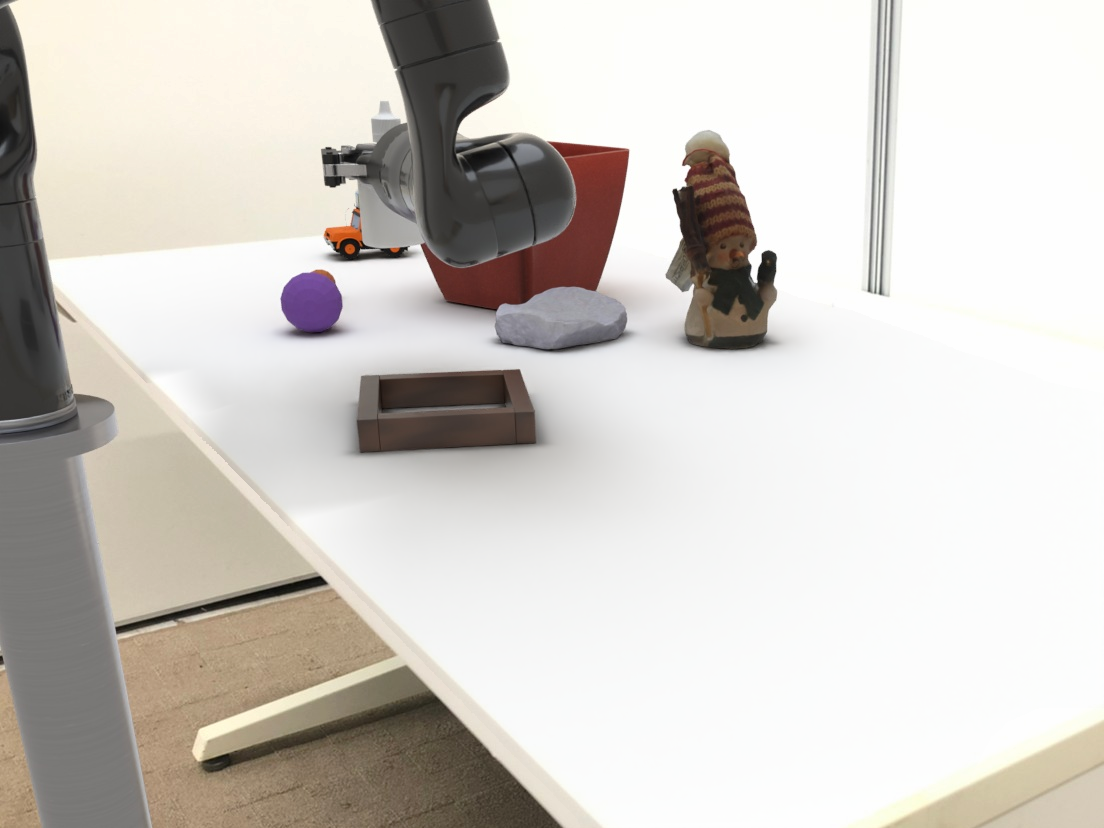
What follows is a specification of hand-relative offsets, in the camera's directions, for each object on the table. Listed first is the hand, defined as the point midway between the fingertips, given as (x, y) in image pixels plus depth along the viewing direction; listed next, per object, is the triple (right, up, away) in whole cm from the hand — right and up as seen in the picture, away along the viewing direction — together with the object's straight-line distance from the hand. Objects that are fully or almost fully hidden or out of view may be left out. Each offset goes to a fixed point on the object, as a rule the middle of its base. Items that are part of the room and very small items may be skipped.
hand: (382, 157), depth 111 cm
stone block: (+14, -13, +18) cm, 26 cm away
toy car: (-18, +6, +61) cm, 64 cm away
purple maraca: (-14, -10, +25) cm, 30 cm away
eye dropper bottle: (+1, -8, +1) cm, 8 cm away
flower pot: (+6, -6, +35) cm, 36 cm away
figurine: (+29, -13, +20) cm, 37 cm away
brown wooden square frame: (+8, -24, -10) cm, 28 cm away
